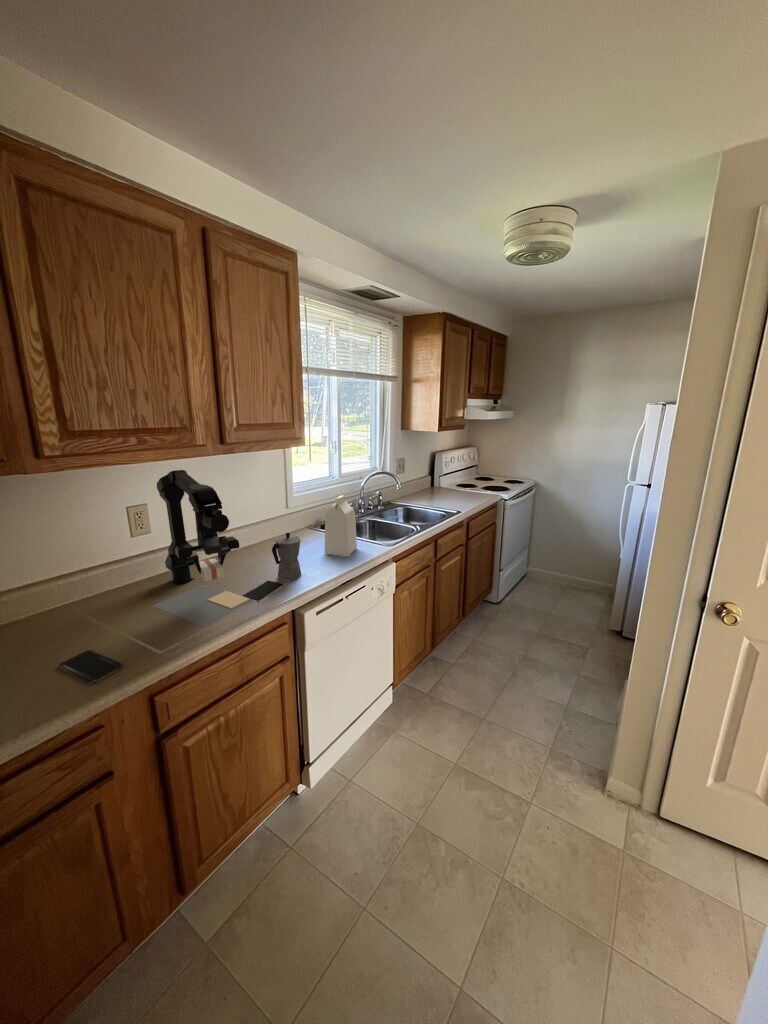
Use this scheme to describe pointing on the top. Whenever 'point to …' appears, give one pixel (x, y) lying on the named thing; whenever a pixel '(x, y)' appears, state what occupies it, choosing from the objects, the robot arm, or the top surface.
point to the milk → (340, 529)
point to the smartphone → (263, 590)
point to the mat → (203, 604)
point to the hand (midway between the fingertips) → (210, 571)
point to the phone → (90, 666)
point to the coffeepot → (287, 557)
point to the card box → (211, 569)
